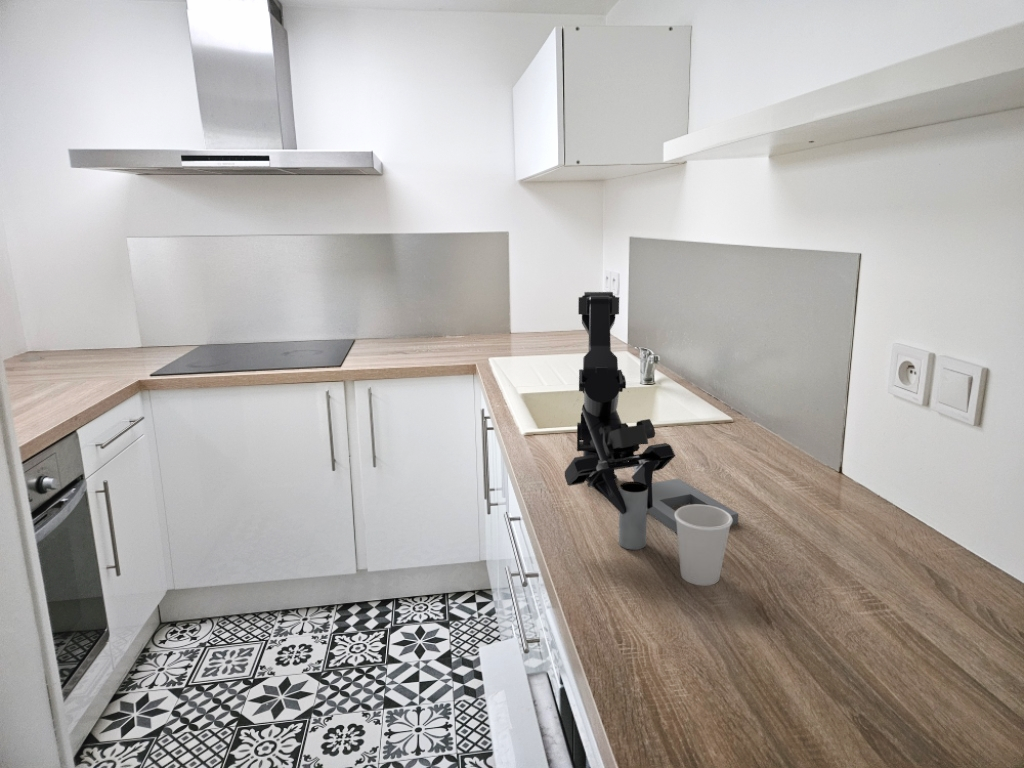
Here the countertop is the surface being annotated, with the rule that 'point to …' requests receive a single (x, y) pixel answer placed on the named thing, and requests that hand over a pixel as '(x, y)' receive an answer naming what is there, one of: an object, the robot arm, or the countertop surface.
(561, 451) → the countertop surface
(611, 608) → the countertop surface
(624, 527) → the gray tube
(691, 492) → the socket board
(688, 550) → the dixie cup
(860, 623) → the countertop surface
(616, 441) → the robot arm
